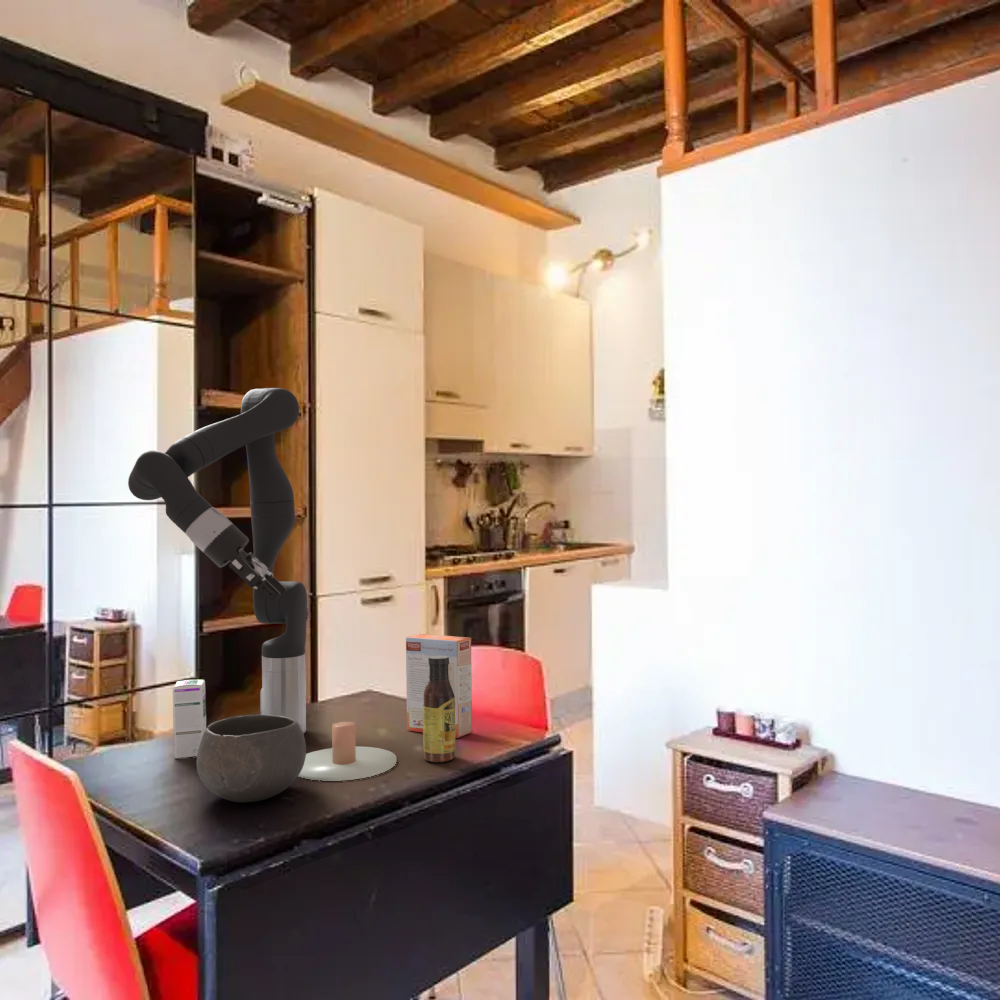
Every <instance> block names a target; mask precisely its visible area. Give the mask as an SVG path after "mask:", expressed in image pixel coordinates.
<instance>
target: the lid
mask: <svg viewBox="0 0 1000 1000" xmlns="http://www.w3.org/2000/svg"><path fill="white" fill-rule="evenodd" d="M331 741H332V742H331V743H332V744H331V745H332V746H331V748H324V749H319V750H314V751H311V752H308V753H307V752H306V757H305V762H304V765H303V768H302V770H301V772H300V774H299V775H298V777H297V778H300V777H301V778H300V779H303V778H305V779H304V780H306V779H311V780H310V781H312V780H319V781H318V782H321V781H320V780H322V781H341V780H353V779H359V778H366V777H370V778H372V777H371V776H374V775H377V774H380V773H383V772H385V771H387V770H389V769H391V768H392V767H393V766H395V767H396V765H397V763H396V762H398V761H397V759H398V758H397V755H396V754H395V753H394V752H392V751H390V750H387V749H384V748H380V747H372V746H362V745H361V746H357V745H356V723H355V722H353V721H338V722H335V723H332V724H331ZM395 764H396V765H395ZM391 770H392V769H391ZM389 771H390V770H389ZM383 774H384V773H383ZM377 776H378V775H377ZM374 777H375V776H374ZM366 779H367V778H366Z"/></svg>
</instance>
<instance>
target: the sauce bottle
mask: <svg viewBox="0 0 1000 1000" xmlns="http://www.w3.org/2000/svg"><path fill="white" fill-rule="evenodd" d="M428 661H429V673H430V674H429V679H430V680H429V682H428V685H427V686H426V687H425V690H424V705H423V733H422V734H423V735H422V736H423V737H422V738H423V740H422V741H423V744H422V745H423V746H422V747H423V758H424V759H425V761H426V762H429V761H430V763H439V762H440V763H445V762H450V761H452V760H453V759H454V758H455V752H456V738H455V696H454V693H453V690H452V687H451V684H450V682H449V676H448V665H449V657H448V656H431V657H429V658H428Z"/></svg>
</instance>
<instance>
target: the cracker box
mask: <svg viewBox="0 0 1000 1000" xmlns="http://www.w3.org/2000/svg"><path fill="white" fill-rule="evenodd" d="M431 656H448V657H449V665H448V676H449V682H450V684H451V687H452V690H453V693H454V696H455V739H460V738H463V737H464V736H466V735H469V734H472V733H473V692H472V690H473V684H472V683H473V681H472V678H473V677H472V672H473V671H472V637H468V636H467V637H466V636H465V637H464V636H452V635H443V634H441V635H440V634H431V633H430V634H428V633H417V634H412V635H408V636H406V637H405V660H406V661H405V662H406V663H405V664H406V665H405V668H406V669H405V670H406V671H405V673H406V683H405V684H406V688H405V689H406V730H407V731H409V732H414V733H415V732H416V733H421V734H423V705H424V690H425V687H426V686H427V685H428V682H429V680H430V679H429V674H430V673H429V661H428V658H429V657H431Z"/></svg>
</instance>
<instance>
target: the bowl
mask: <svg viewBox="0 0 1000 1000" xmlns="http://www.w3.org/2000/svg"><path fill="white" fill-rule="evenodd" d="M304 734H305V733H304ZM304 734H303V732H302V729H301V727H300V725H299V724H298V722H297V721H296V720H294V719H292V718H288V717H283V716H275V715H261V714H248V715H236V716H231V717H228V718H227V717H226V718H224V719H219V720H217V721H214V722H212V723H210V724H209V725H208V726H206V730H205V732H204V734H203V736H202V739H201V742H200V745H199V749H198V754H197V757H196V770H197V771H196V772H197V775H198V777H199V779H200V780H201V783H202V784H203V785H204V786H205V787H206V789H208V790H209V791H210V792H211V793H212V794H214V795H215V796H218V797H219V798H222V799H223V800H226V801H229V802H232V803H245V804H246V803H255V802H260V801H265V800H267V799H269V798H272V797H275V796H277V795H278V794H280V793H282V792H284V791H285V790H286V789H287V788H289V787H290V786H291V785H292V784H293V783H294V781H296V779H297V778H299V777H298V775H299V774H300V772H301V770H302V768H303V765H304V762H305V757H306V754H307V744H306V739H305V735H304Z"/></svg>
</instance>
